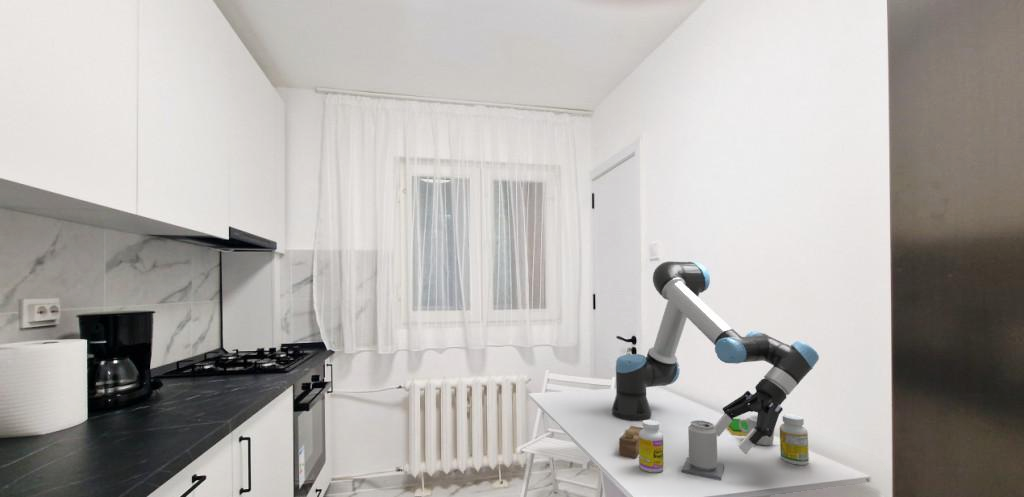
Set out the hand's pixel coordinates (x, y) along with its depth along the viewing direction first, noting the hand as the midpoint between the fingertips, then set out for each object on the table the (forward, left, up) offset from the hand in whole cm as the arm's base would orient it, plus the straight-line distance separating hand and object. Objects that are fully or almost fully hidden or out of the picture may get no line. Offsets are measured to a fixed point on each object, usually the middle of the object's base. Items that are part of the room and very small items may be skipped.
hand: (727, 441), depth 126 cm
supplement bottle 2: (-17, +17, -8) cm, 25 cm away
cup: (-29, +7, -8) cm, 31 cm away
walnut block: (-1, -27, -8) cm, 28 cm away
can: (+4, -6, -7) cm, 10 cm away
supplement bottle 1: (+11, -19, -8) cm, 23 cm away
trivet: (+4, -6, -8) cm, 11 cm away
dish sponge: (-40, +1, -8) cm, 41 cm away
